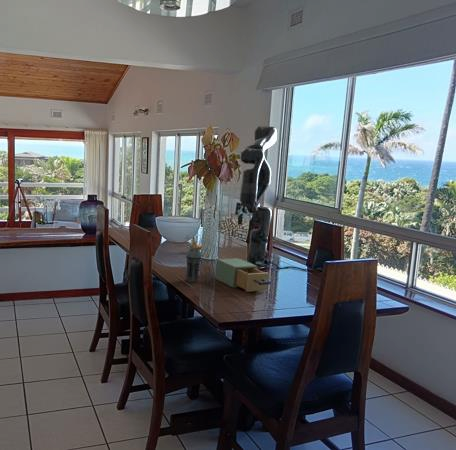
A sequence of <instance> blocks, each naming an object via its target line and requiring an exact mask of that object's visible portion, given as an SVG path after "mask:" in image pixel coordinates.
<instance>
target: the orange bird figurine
mask: <svg viewBox="0 0 456 450" xmlns="http://www.w3.org/2000/svg"><path fill="white" fill-rule="evenodd" d="M189 238H190V236H189V234H186V238H185V239H184V243H185V244H186V245H188V249H189V250H190V249H192V248H193V245H194V242H190V239H189ZM186 240H187V241H188V243H187V242H186ZM202 246H203V245H200V244H198V243H197V241H196V240H195V248H197V249H199V250H200V251H201V248H202Z"/></svg>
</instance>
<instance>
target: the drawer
mask: <svg viewBox="0 0 456 450" xmlns="http://www.w3.org/2000/svg"><path fill="white" fill-rule="evenodd" d="M269 277H270V272H264V271H262V270H261V269H255V268H239V269H236V275H235V285H237V286H239V287H238V288H241V289H243V290H244V292H247V293H248V292H260V291H261V292H262V291H268V285H270V284H271V281H270V280H269Z"/></svg>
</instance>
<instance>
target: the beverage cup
mask: <svg viewBox="0 0 456 450" xmlns="http://www.w3.org/2000/svg"><path fill="white" fill-rule="evenodd" d="M195 241H196V240H195V238H194V239H193V244H194V245H193V244H192V245H193V248H192V249H191V248H190V249H189V250H188V251H187V253H186V256H185V257H186V281H187V282H188V283H197V282H198V278H199V273H200V266H201V262H202V259H203V255H202V251H201V250H199V249H197V248H195Z"/></svg>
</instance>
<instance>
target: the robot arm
mask: <svg viewBox="0 0 456 450" xmlns="http://www.w3.org/2000/svg"><path fill="white" fill-rule="evenodd" d="M277 139H278V130H277V128H276V127H275V126H268V125H267V126H266V125H261V126H260V125H259V126H256V127H255V129H254V133H253V142H252V144H250V145H248V146H246V147H244V148H243V149H242V150H241V152H240V156H239V158H240V161H241V163H243V164H246V165H253V167H252V168H246V169H244V170H243V171H242V179H241V181H242V182H241V185H240V192H239V193H240V194H239V202H236V204H235V211H234V215H235V216H237V225H239V226H240V225H241V226H242V225H243V219H244V214H245V215H247V216H248V218H249V223H248V228H249V229H252V230H251V231H250V236H249V245H248V246H249V247H248V252H247V262H249V263H251V264H254V265H256V266H257V269H258V270H264V269H266V268H267V266H268V265H271V264H272V265H274V266H275V267H276V268H277V269H279V270H285V269H289V268H291V269H297V270H302V271H307V272H313V271H321V272H322V271H323V269H322V268H319V267H318V268H317V267H315V268H312V269H308V268H303V267H298V266H293V265H292V266H290V265H289V266H288V265H287V266H284V267H281V266H279V265H278V264H276V263H275V262H272V261H271V260H270V259H268V250H267V249H268V247H267V246H268V239H269V233H270V229H271V223H272V218H273V217H272V216H273V215H272V214H273V211H272V209H271V208H270V207H266V206H261V205H260V204H261V199H262V197H263V195H264V193H265V192H266V190H268V187H269V186H270V184H271V180H272V179H271V177H272V169H271V167H270V165H269V162H268V161H267V159H266V157H265V152H266V150H267V149H269V148H270V147H272V146H273V145H274V144H275V143H276V142H277ZM255 224H259V225H260V226H259V227H258V228H255V229H254V227H255Z"/></svg>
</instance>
